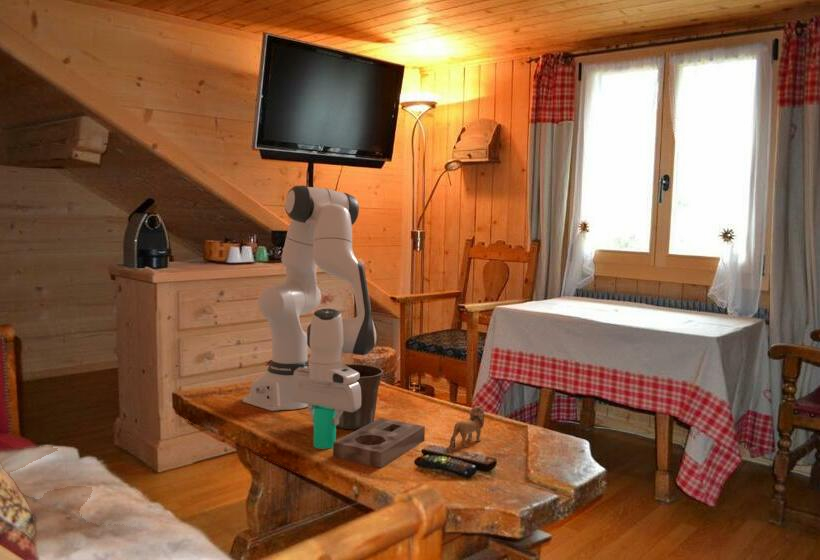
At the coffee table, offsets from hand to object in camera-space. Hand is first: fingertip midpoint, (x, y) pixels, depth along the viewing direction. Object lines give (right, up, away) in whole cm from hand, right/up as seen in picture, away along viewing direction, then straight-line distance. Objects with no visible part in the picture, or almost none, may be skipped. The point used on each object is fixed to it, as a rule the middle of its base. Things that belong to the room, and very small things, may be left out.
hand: (325, 422), depth 184 cm
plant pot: (+6, -5, +19) cm, 21 cm away
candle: (0, -6, +1) cm, 6 cm away
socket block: (+15, -7, -1) cm, 16 cm away
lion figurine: (+38, -7, +6) cm, 39 cm away
